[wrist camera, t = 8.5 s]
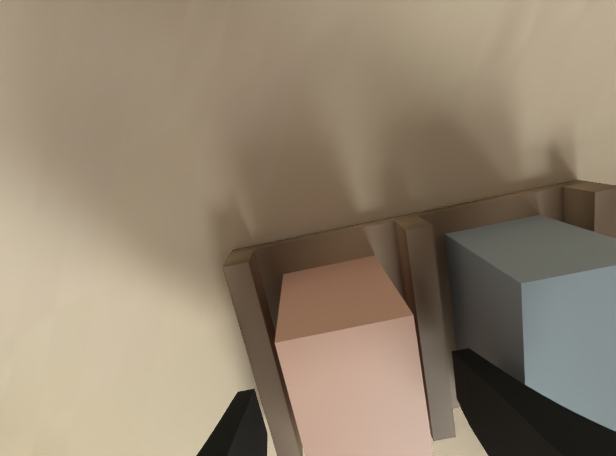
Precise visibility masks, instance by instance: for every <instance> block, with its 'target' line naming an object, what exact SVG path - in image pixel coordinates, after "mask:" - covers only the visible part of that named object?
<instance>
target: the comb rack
mask: <svg viewBox="0 0 616 456" xmlns="http://www.w3.org/2000/svg"><path fill="white" fill-rule="evenodd" d="M537 215H542V216H545V217H548V218H551V219H554V220H558V221H561V222H564V223H567V224H570V225H574V226H577V227H580V228H583V229H586V230H590V231H593V232H596V233H599V234H602V235H606V236H609V237H612V238H615V239H616V186H615V185H608V184H601V183H594V182H587V181H580V180H577V181H572V182H567V183H562V184H557V185H552V186H547V187H542V188H537V189H532V190H527V191H523V192H518V193H513V194H508V195H503V196H498V197H493V198H488V199H483V200H478V201H473V202H468V203H463V204H458V205H454V206H449V207H444V208H439V209H434V210H429V211H424V212H419V213H414V214H409V215H404V216H399V217H394V218H390V219H385V220H380V221H375V222H370V223H365V224H360V225H355V226H350V227H345V228H340V229H335V230H330V231H325V232H321V233H316V234H311V235H306V236H301V237H296V238H291V239H286V240H281V241H276V242H271V243H266V244H261V245H256V246H252V247H247V248H242V249H237V250H233V251H232V253H231V254H230V256H229V258H228V259H227V261H226V262H225V264H224V266H223V271H224V274H225V277H226V281H227V284H228V288H229V291H230V295H231V298H232V302H233V305H234V308H235V312H236V315H237V319H238V322H239V326H240V329H241V332H242V336H243V339H244V343H245V346H246V350H247V353H248V357H249V360H250V363H251V367H252V370H253V374H254V377H255V381H256V384H257V388H258V391H259V394H260V398H261V401H262V405H263V408H264V412H265V415H266V419H267V422H268V425H269V429H270V432H271V436H272V439H273V443H274V446H275V450H276V453H277V456H303V451H302V442H301V438H300V435H299V431H298V427H297V424H296V420H295V416H294V413H293V409H292V405H291V402H290V398H289V394H288V391H287V387H286V383H285V379H284V376H283V372H282V368H281V365H280V361H279V357H278V354H277V350H276V346H275V336H276V328H277V320H278V312H279V304H280V296H281V288H282V280H283V274H287V273H292V272H297V271H301V270H306V269H311V268H316V267H321V266H326V265H331V264H335V263H340V262H345V261H350V260H355V259H360V258H364V257H369V256H374V255H375V257H376V258H377V260H378V261H379V263H380V264H381V266H382V267H383V269H384V270H385V272H386V273H387V275H388V277H389V278H390V280H391V281H392V283H393V284H394V286H395V287H396V289H397V290H398V292H399V294H400V295H401V297H402V298H403V300H404V301H405V303H406V304H407V306H408V307H409V309H410V310H411V312H412V314H413V315H414V322H415V329H416V336H417V343H418V350H419V357H420V364H421V371H422V378H423V385H424V392H425V399H426V406H427V413H428V420H429V427H430V434H431V436H432V438H433V441H436V440H441V439H447V438H452V437H456V435H455V426H454V416H453V408H458V407H460V404H459V402H458V400H457V397H456V388H455V378H454V369H453V359H452V351H456V341H455V331H454V321H453V311H452V302H451V292H450V282H449V272H448V262H447V252H446V242H445V234H447V233H452V232H457V231H462V230H467V229H472V228H477V227H482V226H487V225H492V224H497V223H502V222H507V221H512V220H517V219H522V218H527V217H532V216H537Z"/></svg>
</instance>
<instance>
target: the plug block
mask: <svg viewBox="0 0 616 456" xmlns="http://www.w3.org/2000/svg"><path fill="white" fill-rule="evenodd" d="M275 346H276V350H277V354H278V357H279V361H280V365H281V368H282V372H283V376H284V379H285V383H286V387H287V391H288V394H289V398H290V402H291V405H292V409H293V413H294V416H295V420H296V424H297V427H298V431H299V435H300V438H301V442H302V446H303V450H304V453H305V456H434V455H433V448H432V441H431V434H430V427H429V420H428V413H427V406H426V399H425V392H424V385H423V378H422V371H421V364H420V357H419V350H418V343H417V336H416V329H415V322H414V315H413V314H412V312H411V310H410V309H409V307H408V306H407V304H406V303H405V301H404V300H403V298H402V297H401V295H400V294H399V292H398V290H397V289H396V287H395V286H394V284H393V283H392V281H391V280H390V278H389V277H388V275H387V273H386V272H385V270H384V269H383V267H382V266H381V264H380V263H379V261H378V260H377V258H376V257H375V255H374V256H369V257H364V258H360V259H355V260H350V261H345V262H340V263H335V264H331V265H326V266H321V267H316V268H311V269H306V270H301V271H297V272H292V273H287V274H283V280H282V288H281V296H280V304H279V312H278V320H277V328H276V336H275Z"/></svg>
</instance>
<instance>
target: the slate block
mask: <svg viewBox="0 0 616 456" xmlns="http://www.w3.org/2000/svg"><path fill="white" fill-rule="evenodd" d="M445 242H446V252H447V262H448V272H449V282H450V292H451V302H452V311H453V321H454V331H455V341H456V350H461V349H467V348H469V349H471V350H472V351H474V352H476V353H477V354H479V355H480V356H482V357H483V358H485V359H486V360H487V361H489V362H490V363H492V364H494V365H495V366H497V367H498V368H500V369H501V370H503V371H504V372H506V373H507V374H509V375H510V376H512V377H514V378H515V379H517V380H518V381H520V382H522V383H523V384H525V385H527V386H528V387H530V388H532V389H533V390H535V391H537V392H538V393H540V394H542V395H544V396H546V397H547V398H549V399H551V400H553V401H554V402H556V403H558V404H560V405H562V406H564V407H566V408H567V409H569V410H571V411H573V412H575V413H577V414H579V415H581V416H583V417H586V418H588V419H590V420H592V421H594V422H596V423H598V424H600V425H602V426H604V427H607V428H609V429H611V430H613V431H616V239H615V238H612V237H609V236H606V235H602V234H599V233H596V232H593V231H590V230H586V229H583V228H580V227H577V226H574V225H570V224H567V223H564V222H561V221H558V220H554V219H551V218H548V217H545V216H542V215H537V216H532V217H527V218H522V219H517V220H512V221H507V222H502V223H497V224H492V225H487V226H482V227H477V228H472V229H467V230H462V231H457V232H452V233H447V234H445Z"/></svg>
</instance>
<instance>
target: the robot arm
mask: <svg viewBox="0 0 616 456" xmlns="http://www.w3.org/2000/svg"><path fill="white" fill-rule="evenodd" d="M452 359H453V369H454V378H455V388H456V397H457V400H458V402H459V404H460V407H461V409H462V411H463V413H464V415H465V417H466V419H467V421H468V423H469V425H470V427H471V428H472V430H473V432H474V433H475V435H476V437H477V438H478V440H479V441H480V443H481V444H482V446H483V448H484V449H485V451H486V452H487V454H488V456H616V431H613V430H611V429H609V428H607V427H604V426H602V425H600V424H598V423H596V422H594V421H592V420H590V419H588V418H586V417H583V416H581V415H579V414H577V413H575V412H573V411H571V410H569V409H567V408H566V407H564V406H562V405H560V404H558V403H556V402H554V401H553V400H551V399H549V398H547V397H546V396H544V395H542V394H540V393H538V392H537V391H535V390H533V389H532V388H530V387H528V386H527V385H525V384H523V383H522V382H520V381H518V380H517V379H515V378H514V377H512V376H510V375H509V374H507V373H506V372H504V371H503V370H501V369H500V368H498V367H497V366H495V365H494V364H492V363H490V362H489V361H487V360H486V359H485V358H483V357H482V356H480V355H479V354H477V353H476V352H474V351H472V350H471V349H469V348H467V349H461V350H456V351H452ZM197 456H267V430H266V427H265V424H264V420H263V417H262V413H261V410H260V407H259V403H258V400H257V396H256V393H255V390H254V389H251V390H246V391H240V392H238V393H237V394H236V396H235V397H234V399H233V400H232V402H231V403H230V405H229V407H228V408H227V410H226V412H225V413H224V415H223V416H222V418H221V420H220V421H219V423H218V424H217V426H216V427H215V429H214V431H213V432H212V434H211V435H210V437H209V438H208V440H207V441H206V443H205V444H204V446H203V447H202V449H201V450H200V451H199V453H198V454H197Z"/></svg>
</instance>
